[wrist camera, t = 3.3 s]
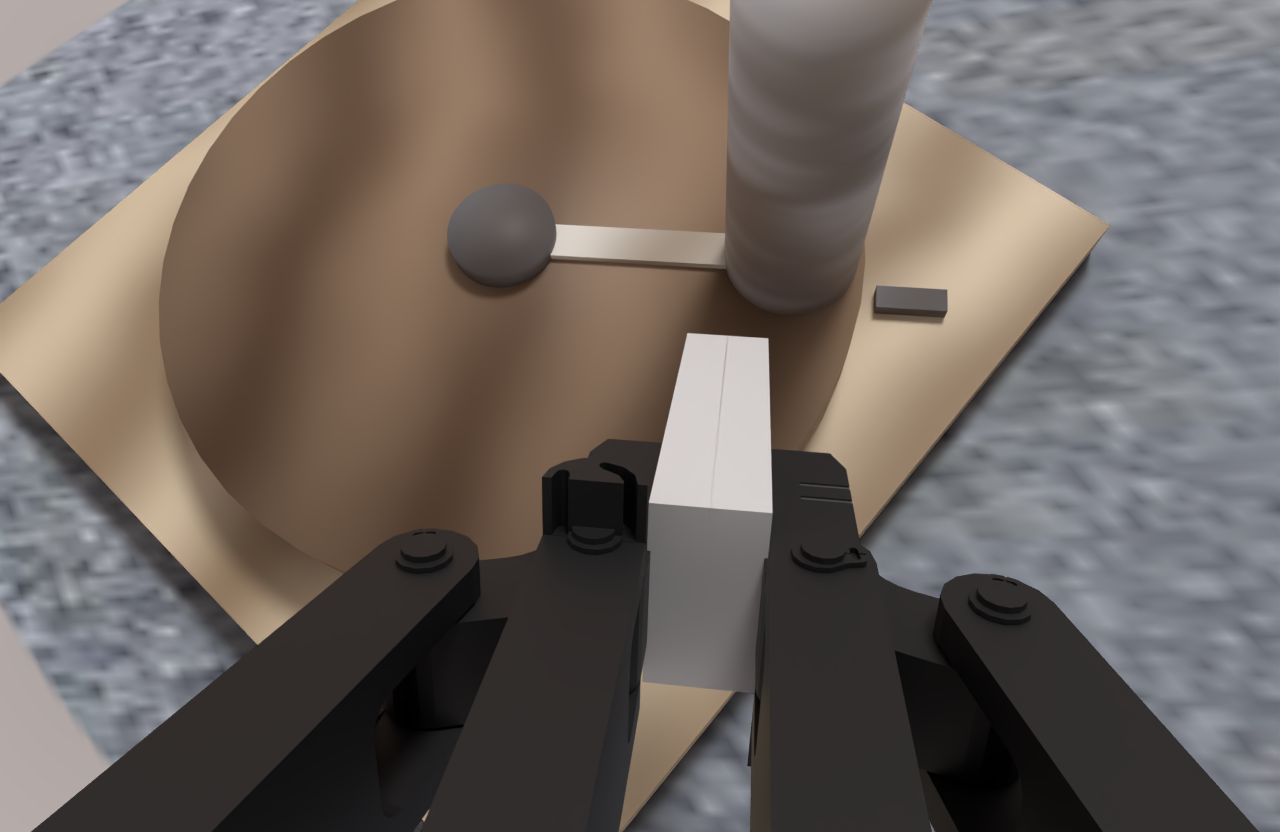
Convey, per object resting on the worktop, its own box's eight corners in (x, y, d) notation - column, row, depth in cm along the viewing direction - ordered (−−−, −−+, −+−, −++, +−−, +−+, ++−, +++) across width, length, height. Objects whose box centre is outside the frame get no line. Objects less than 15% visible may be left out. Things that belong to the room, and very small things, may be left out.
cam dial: (108, 572, 26) (-361, 413, 14) (285, 11, 33) (63, -386, 21) (844, 646, 23) (963, 526, 12) (863, 28, 30) (948, -405, 19)
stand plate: (1091, 251, 29) (1115, 217, 27) (544, 928, 23) (531, 940, 21) (520, -96, 36) (510, -140, 34) (-2, 354, 30) (-46, 328, 29)
